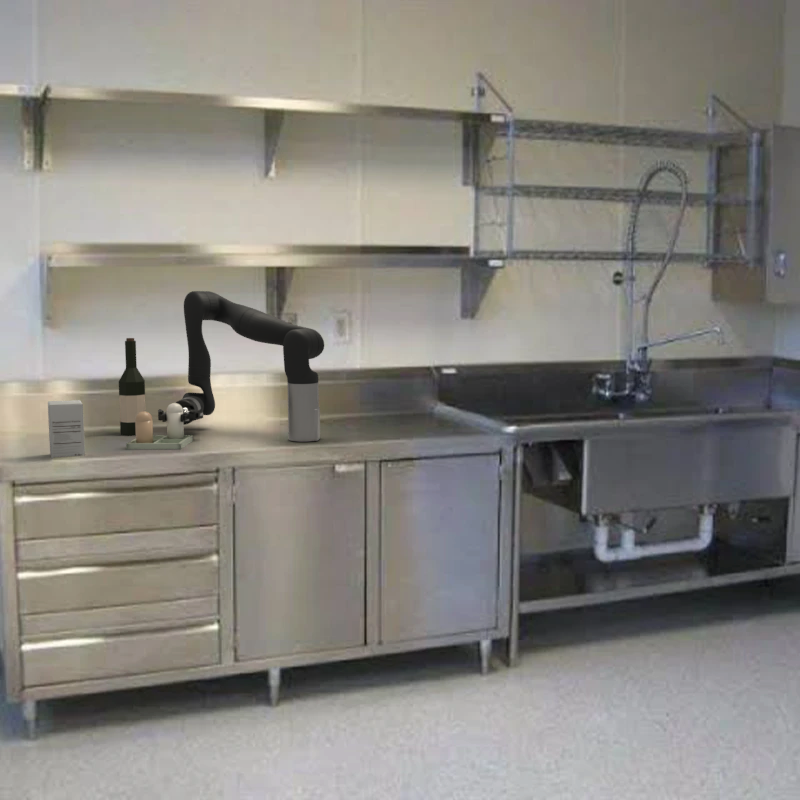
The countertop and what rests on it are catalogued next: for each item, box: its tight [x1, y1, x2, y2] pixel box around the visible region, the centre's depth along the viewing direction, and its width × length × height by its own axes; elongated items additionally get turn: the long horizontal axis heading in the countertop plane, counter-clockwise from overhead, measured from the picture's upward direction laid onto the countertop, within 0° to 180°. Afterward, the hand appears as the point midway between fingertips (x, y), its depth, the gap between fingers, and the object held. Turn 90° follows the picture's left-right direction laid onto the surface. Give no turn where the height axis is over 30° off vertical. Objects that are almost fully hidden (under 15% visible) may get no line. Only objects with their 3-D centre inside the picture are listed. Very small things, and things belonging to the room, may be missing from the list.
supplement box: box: [47, 399, 86, 459], centre depth 286 cm, size 9×9×15 cm
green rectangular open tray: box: [125, 434, 194, 450], centre depth 301 cm, size 15×15×2 cm
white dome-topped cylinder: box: [165, 402, 185, 439], centre depth 303 cm, size 5×5×10 cm
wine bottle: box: [118, 337, 147, 437], centre depth 324 cm, size 8×8×30 cm
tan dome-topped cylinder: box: [135, 411, 154, 443], centre depth 297 cm, size 5×5×10 cm
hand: (172, 418), depth 301 cm, fingers closed on white dome-topped cylinder, 4 cm apart
